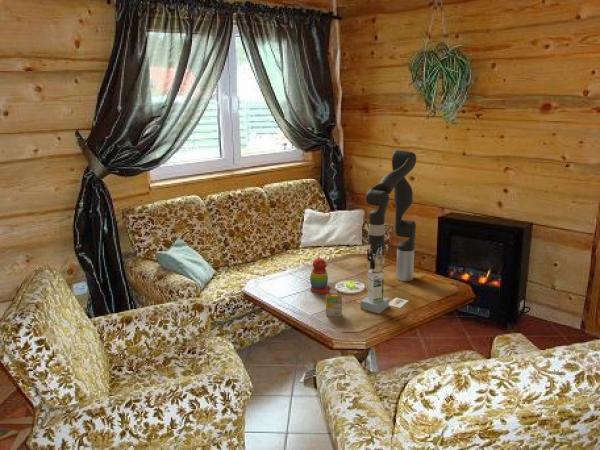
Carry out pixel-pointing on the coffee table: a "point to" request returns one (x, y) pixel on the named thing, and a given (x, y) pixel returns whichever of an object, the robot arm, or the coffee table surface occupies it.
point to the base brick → (374, 305)
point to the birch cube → (377, 263)
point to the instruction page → (398, 302)
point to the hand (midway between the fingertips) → (375, 266)
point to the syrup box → (375, 285)
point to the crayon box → (334, 304)
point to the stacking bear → (319, 277)
